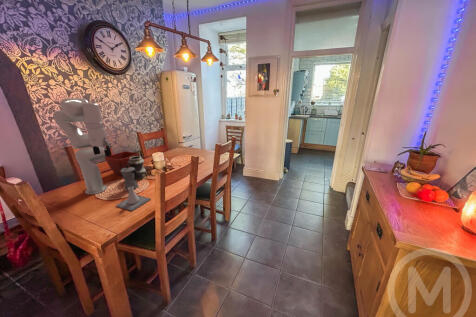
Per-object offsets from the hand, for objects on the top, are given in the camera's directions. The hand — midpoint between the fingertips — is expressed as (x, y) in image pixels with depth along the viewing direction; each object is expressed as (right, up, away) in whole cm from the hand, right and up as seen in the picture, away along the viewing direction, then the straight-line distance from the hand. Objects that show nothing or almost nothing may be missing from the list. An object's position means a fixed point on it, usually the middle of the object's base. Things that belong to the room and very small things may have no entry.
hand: (103, 155), depth 106 cm
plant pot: (-21, -15, +56) cm, 62 cm away
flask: (+12, -30, +10) cm, 34 cm away
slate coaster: (+13, -31, +10) cm, 35 cm away
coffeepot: (+1, -25, +28) cm, 38 cm away
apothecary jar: (-4, -18, +47) cm, 50 cm away
